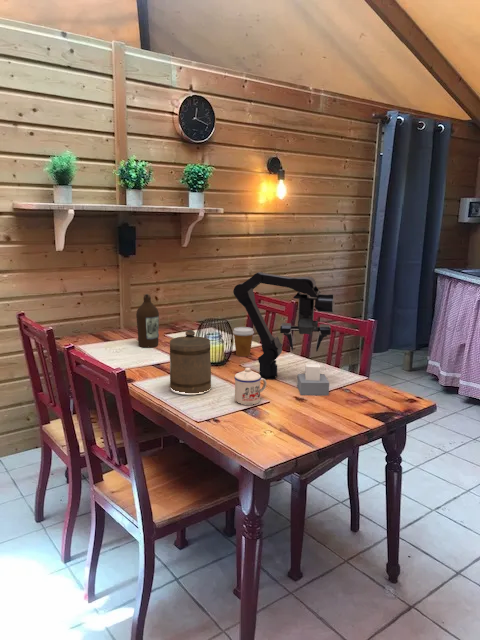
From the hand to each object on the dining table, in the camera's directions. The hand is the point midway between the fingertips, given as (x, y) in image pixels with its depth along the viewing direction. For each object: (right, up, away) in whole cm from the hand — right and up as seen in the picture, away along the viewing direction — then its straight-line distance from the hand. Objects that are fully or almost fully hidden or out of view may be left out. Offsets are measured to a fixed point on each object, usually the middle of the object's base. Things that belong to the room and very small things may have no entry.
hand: (304, 350), depth 189 cm
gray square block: (+2, -14, -8) cm, 16 cm away
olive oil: (-69, -1, +51) cm, 86 cm away
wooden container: (-43, -14, -7) cm, 45 cm away
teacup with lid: (-21, -16, -18) cm, 32 cm away
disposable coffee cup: (-23, -4, +37) cm, 44 cm away
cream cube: (+2, -9, -9) cm, 13 cm away
